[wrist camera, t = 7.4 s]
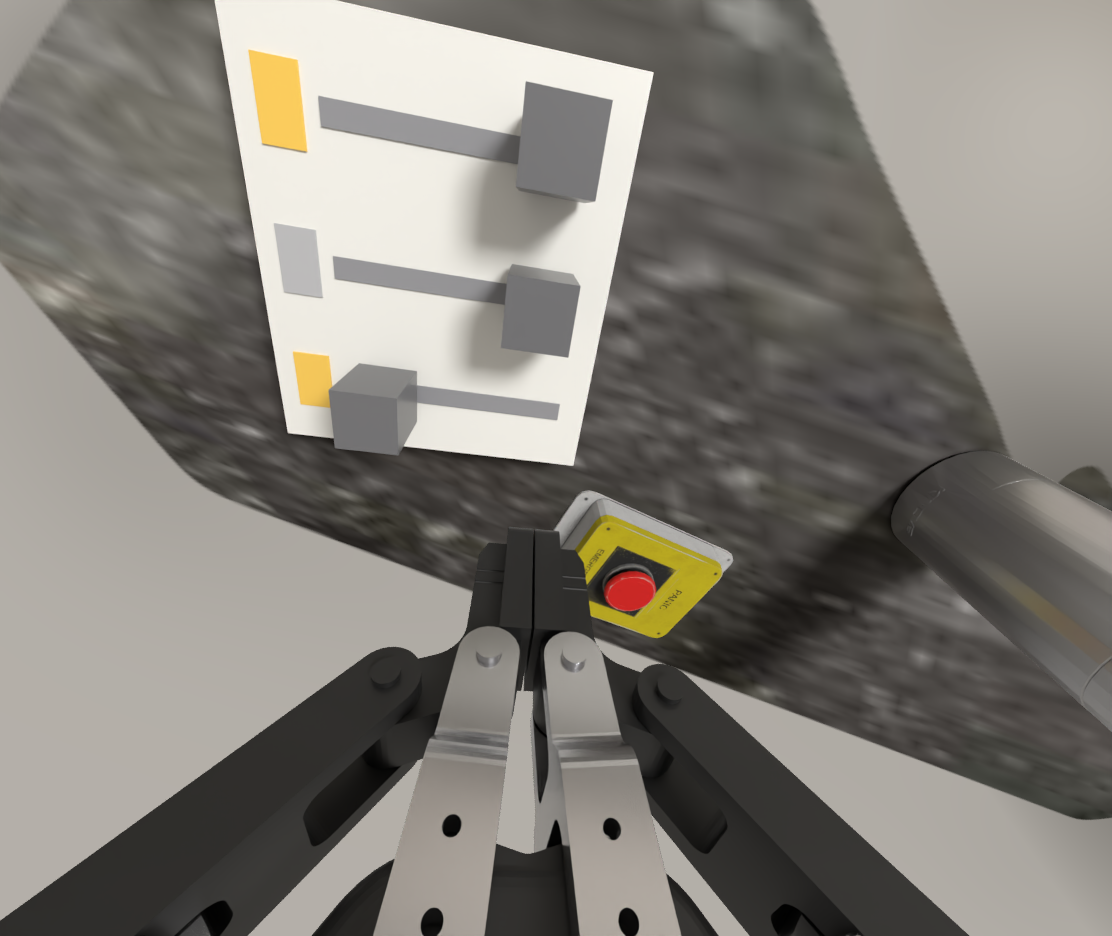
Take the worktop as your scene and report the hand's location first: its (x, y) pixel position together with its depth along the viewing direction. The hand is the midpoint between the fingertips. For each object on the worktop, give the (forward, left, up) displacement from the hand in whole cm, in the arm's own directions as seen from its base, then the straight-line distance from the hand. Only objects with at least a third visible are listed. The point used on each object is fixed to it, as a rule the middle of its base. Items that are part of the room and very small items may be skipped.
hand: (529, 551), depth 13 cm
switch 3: (0, -5, -13) cm, 14 cm away
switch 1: (+8, +1, -13) cm, 15 cm away
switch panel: (+5, -5, -17) cm, 18 cm away
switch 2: (0, -11, -13) cm, 17 cm away
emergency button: (-10, +15, -17) cm, 25 cm away
